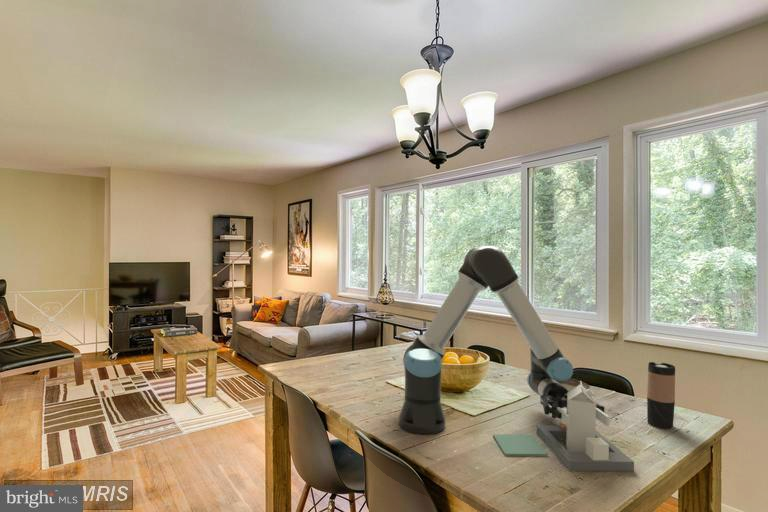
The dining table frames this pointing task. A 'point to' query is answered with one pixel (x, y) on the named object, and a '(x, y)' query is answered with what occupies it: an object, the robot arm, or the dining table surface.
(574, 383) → the plant saucer
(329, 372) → the dining table surface
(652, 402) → the travel mug
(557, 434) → the grey open frame
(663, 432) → the dining table surface
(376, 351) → the dining table surface
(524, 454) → the felt pad
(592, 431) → the milk carton
